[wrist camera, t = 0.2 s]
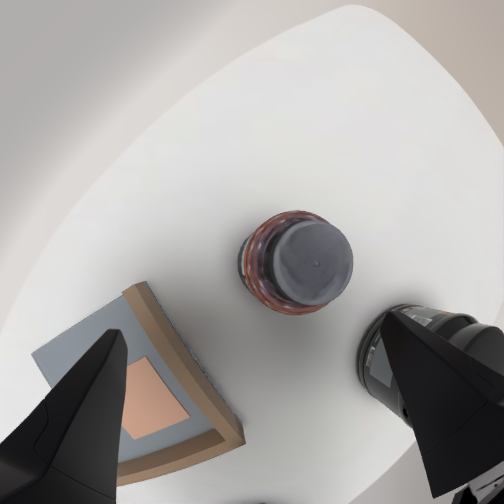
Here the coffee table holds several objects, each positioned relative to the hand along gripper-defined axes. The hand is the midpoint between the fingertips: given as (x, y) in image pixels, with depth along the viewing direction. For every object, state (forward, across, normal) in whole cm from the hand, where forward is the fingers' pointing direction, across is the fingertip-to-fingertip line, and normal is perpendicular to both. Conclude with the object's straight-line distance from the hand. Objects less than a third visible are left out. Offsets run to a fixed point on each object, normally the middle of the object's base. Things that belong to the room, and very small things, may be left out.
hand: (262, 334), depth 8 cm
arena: (+7, +11, +16) cm, 21 cm away
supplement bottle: (+14, -3, +6) cm, 16 cm away
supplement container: (+8, -17, +15) cm, 24 cm away
